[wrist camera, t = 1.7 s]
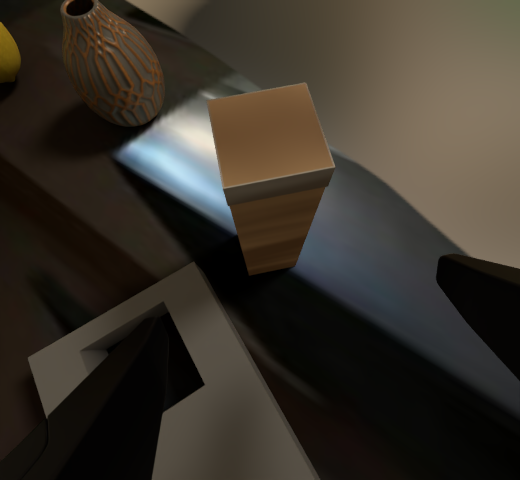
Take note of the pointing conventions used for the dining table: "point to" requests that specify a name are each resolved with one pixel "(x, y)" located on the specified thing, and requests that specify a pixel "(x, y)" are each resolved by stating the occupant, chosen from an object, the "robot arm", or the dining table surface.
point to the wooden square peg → (271, 170)
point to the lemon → (8, 56)
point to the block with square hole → (197, 403)
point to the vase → (110, 64)
